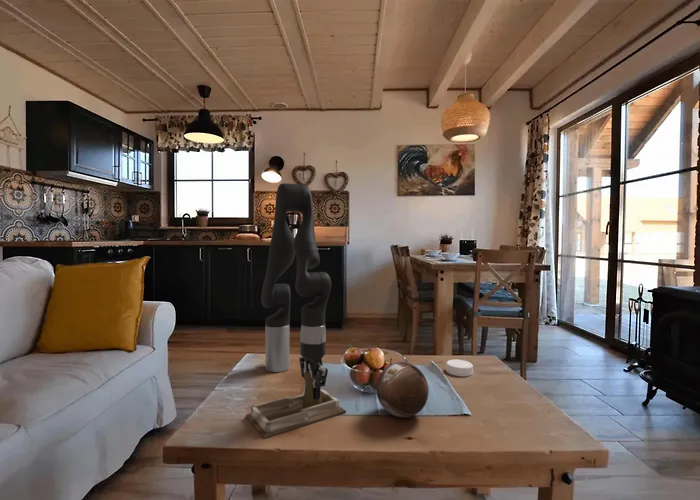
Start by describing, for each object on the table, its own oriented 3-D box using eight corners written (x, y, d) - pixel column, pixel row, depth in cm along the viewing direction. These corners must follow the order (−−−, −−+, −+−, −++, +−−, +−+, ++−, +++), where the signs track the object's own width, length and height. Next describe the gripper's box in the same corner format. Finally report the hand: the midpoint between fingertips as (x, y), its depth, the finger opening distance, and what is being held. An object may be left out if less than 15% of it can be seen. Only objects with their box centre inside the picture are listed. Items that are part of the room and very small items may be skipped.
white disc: (476, 377, 136) (476, 367, 136) (450, 377, 136) (450, 367, 135) (467, 367, 146) (467, 359, 145) (443, 367, 146) (443, 359, 145)
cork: (298, 409, 107) (298, 372, 107) (308, 400, 113) (308, 365, 112) (316, 413, 105) (316, 375, 104) (326, 404, 110) (326, 368, 110)
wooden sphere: (366, 416, 105) (366, 365, 104) (392, 398, 116) (393, 352, 116) (413, 433, 95) (413, 377, 95) (436, 412, 107) (437, 362, 107)
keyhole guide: (246, 416, 104) (246, 405, 104) (321, 395, 118) (321, 386, 118) (264, 438, 93) (264, 426, 92) (345, 412, 107) (345, 402, 107)
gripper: (291, 335, 112) (291, 390, 112) (313, 347, 100) (313, 408, 101) (312, 332, 116) (312, 385, 116) (336, 343, 104) (336, 402, 105)
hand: (312, 395), depth 108 cm, fingers closed on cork, 4 cm apart
